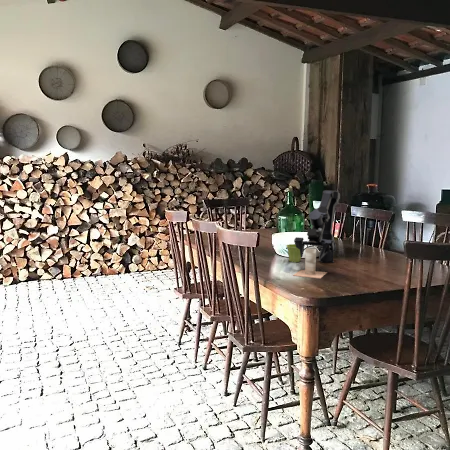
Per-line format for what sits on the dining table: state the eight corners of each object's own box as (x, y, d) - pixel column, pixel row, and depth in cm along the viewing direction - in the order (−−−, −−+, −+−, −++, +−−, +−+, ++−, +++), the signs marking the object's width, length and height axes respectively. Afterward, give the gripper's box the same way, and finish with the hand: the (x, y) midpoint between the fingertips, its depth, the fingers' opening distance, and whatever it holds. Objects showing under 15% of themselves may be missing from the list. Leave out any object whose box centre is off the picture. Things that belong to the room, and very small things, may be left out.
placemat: (300, 270, 241) (300, 269, 241) (326, 272, 236) (326, 272, 236) (293, 275, 229) (293, 275, 229) (320, 278, 224) (320, 277, 224)
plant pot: (304, 263, 258) (304, 247, 257) (286, 263, 259) (286, 246, 258) (302, 259, 268) (303, 244, 266) (285, 259, 268) (285, 244, 267)
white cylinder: (310, 272, 236) (311, 247, 234) (317, 274, 232) (318, 249, 230) (302, 273, 233) (303, 248, 232) (309, 275, 229) (310, 250, 228)
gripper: (295, 221, 238) (288, 246, 229) (333, 223, 230) (327, 249, 222) (299, 234, 246) (292, 260, 238) (336, 237, 238) (331, 263, 230)
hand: (310, 258), depth 231 cm, fingers open, 9 cm apart
